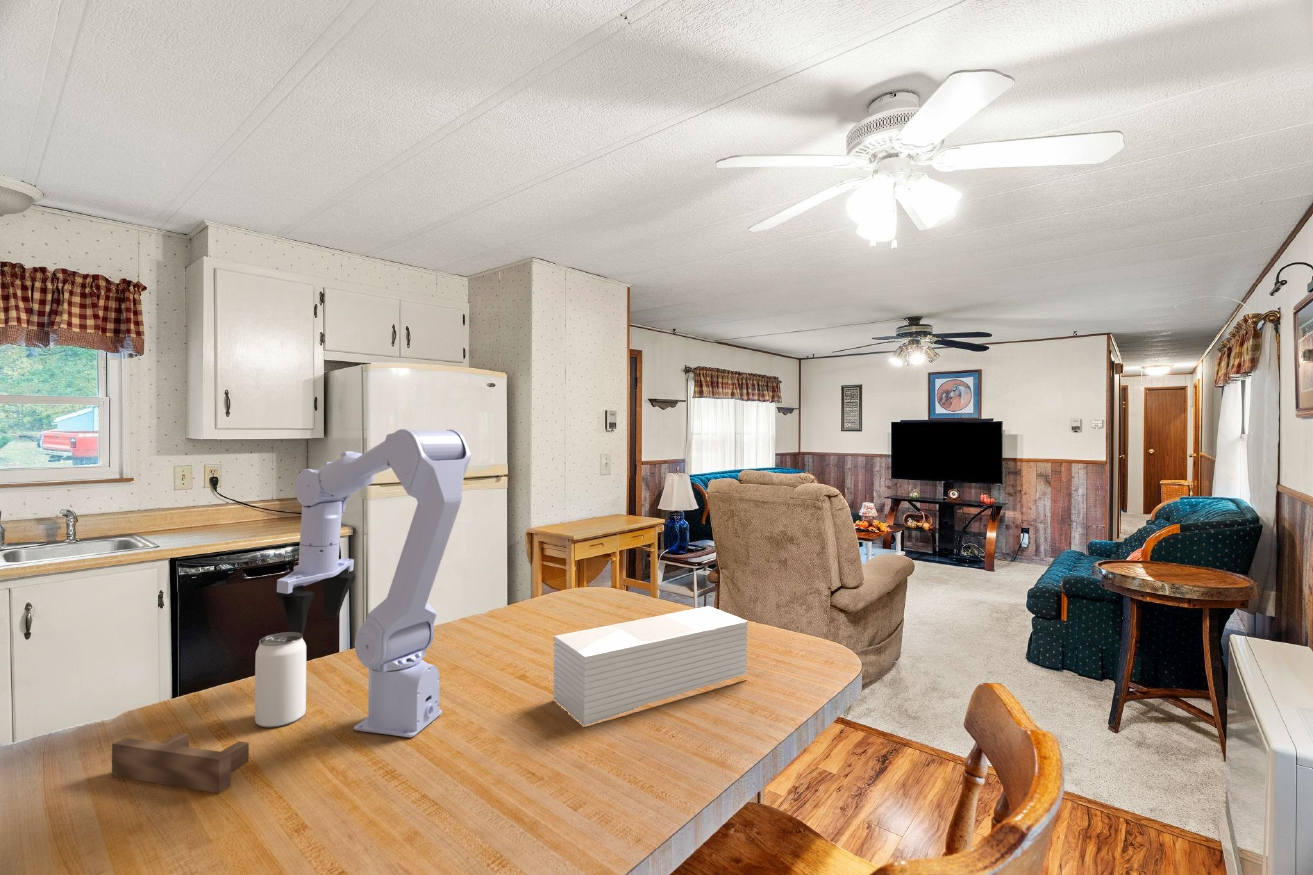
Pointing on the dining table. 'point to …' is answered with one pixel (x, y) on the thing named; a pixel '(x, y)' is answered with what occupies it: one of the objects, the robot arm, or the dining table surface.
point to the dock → (178, 762)
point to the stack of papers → (646, 661)
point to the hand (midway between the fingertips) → (314, 624)
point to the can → (280, 679)
